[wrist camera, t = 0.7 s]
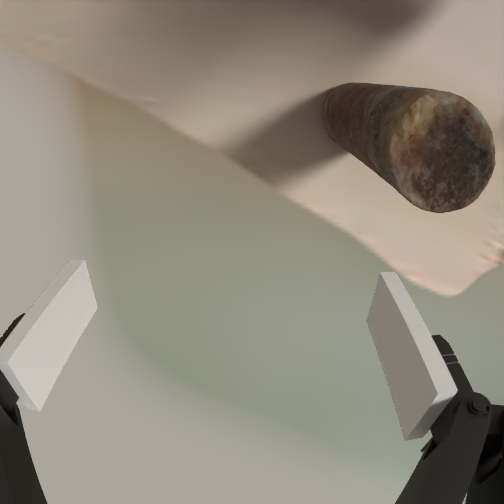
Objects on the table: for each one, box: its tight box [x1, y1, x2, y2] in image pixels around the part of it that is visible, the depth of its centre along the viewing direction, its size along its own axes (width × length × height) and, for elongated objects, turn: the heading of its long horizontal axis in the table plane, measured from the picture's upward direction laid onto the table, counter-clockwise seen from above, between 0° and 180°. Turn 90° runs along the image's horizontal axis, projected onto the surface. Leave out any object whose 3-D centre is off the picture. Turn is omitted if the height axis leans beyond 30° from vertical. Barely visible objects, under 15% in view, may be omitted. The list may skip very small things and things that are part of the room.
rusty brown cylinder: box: [323, 83, 495, 213], centre depth 23 cm, size 8×7×20 cm
